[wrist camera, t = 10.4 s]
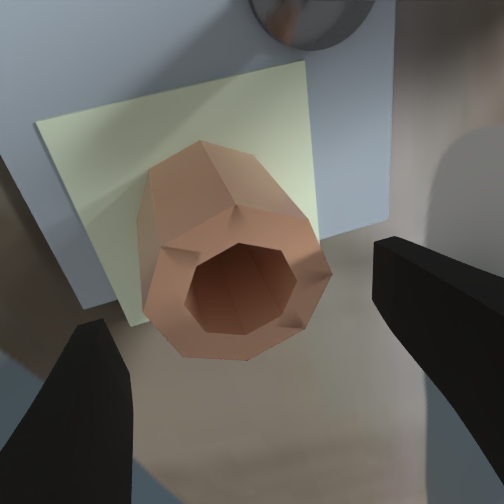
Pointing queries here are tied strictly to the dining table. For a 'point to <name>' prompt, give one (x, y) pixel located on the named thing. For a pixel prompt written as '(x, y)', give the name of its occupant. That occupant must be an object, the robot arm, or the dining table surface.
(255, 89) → the pad
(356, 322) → the dining table surface
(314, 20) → the posts
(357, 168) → the board
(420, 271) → the robot arm
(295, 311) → the octagonal hollow tube
